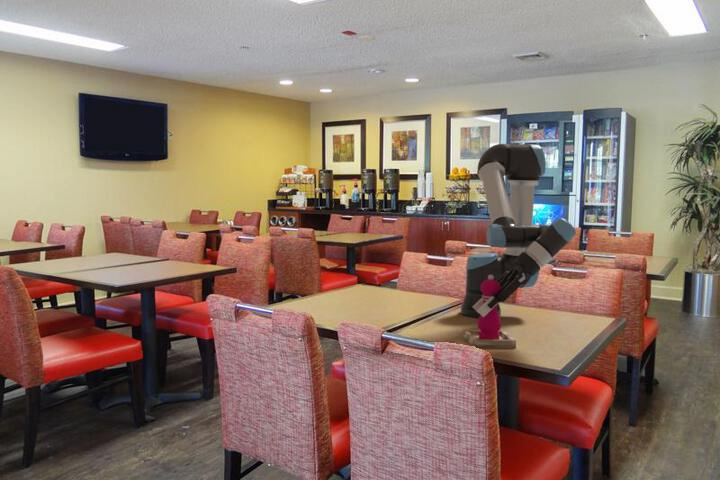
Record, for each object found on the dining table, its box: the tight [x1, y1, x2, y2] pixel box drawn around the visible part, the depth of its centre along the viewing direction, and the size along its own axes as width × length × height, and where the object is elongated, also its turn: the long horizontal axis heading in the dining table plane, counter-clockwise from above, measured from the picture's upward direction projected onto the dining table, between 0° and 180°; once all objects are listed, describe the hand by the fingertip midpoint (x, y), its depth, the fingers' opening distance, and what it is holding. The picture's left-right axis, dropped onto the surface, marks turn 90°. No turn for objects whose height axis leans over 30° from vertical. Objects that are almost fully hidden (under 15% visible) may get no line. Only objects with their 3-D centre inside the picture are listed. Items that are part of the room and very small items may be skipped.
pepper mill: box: [477, 275, 502, 340], centre depth 176 cm, size 7×7×20 cm
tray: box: [462, 329, 517, 349], centre depth 177 cm, size 13×13×2 cm
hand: (477, 311), depth 176 cm, fingers closed on pepper mill, 5 cm apart
